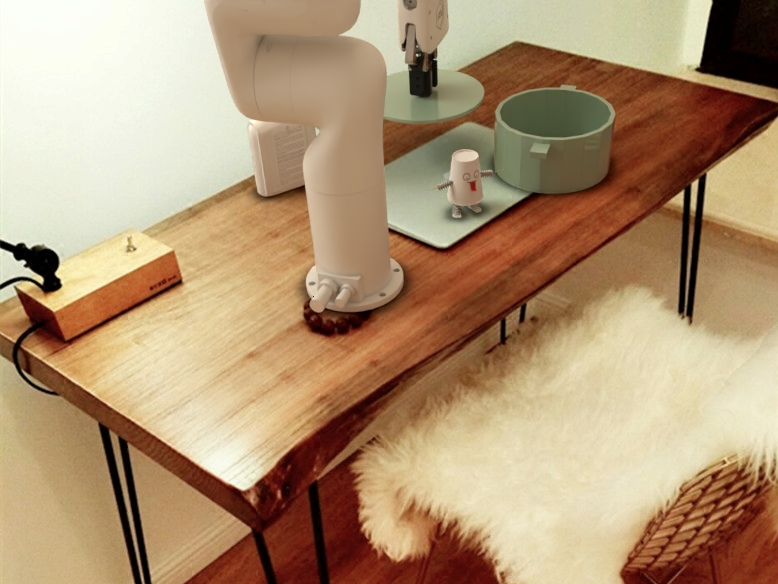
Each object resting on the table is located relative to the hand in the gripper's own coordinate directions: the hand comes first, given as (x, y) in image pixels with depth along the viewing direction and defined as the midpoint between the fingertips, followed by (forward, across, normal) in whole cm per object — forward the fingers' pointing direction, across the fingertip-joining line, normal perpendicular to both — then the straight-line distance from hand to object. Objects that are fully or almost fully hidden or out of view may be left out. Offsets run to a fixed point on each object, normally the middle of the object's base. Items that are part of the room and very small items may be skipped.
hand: (423, 89), depth 137 cm
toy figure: (+10, -16, -11) cm, 22 cm away
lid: (+1, 0, 0) cm, 1 cm away
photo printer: (+10, -15, +17) cm, 25 cm away
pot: (+10, 0, -20) cm, 22 cm away
